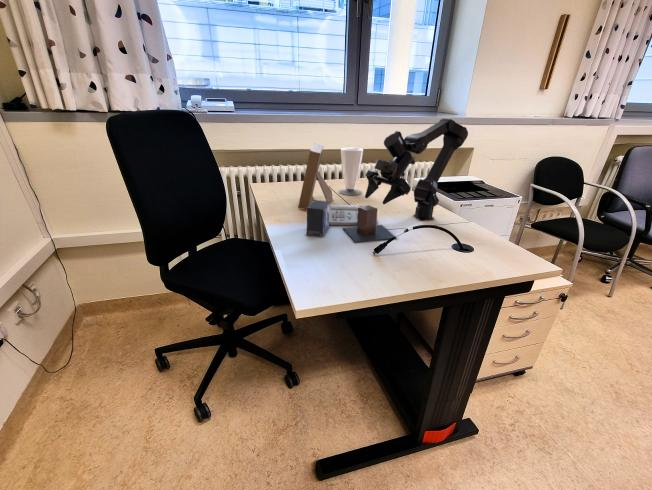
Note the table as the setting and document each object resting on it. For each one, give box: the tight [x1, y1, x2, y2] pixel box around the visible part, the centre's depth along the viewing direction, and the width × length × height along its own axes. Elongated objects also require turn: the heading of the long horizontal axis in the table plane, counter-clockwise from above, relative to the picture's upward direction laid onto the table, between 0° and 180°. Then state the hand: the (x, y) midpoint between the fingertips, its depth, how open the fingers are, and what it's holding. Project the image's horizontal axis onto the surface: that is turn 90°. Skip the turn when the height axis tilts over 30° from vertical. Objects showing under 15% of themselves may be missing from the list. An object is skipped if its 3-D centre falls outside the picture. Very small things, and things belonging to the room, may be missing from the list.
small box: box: [306, 199, 330, 237], centre depth 125 cm, size 11×6×10 cm, turn 168°
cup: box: [339, 146, 364, 196], centre depth 173 cm, size 12×12×22 cm
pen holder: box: [356, 204, 378, 236], centre depth 125 cm, size 5×5×10 cm
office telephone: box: [329, 204, 378, 226], centre depth 144 cm, size 23×3×20 cm
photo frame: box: [297, 143, 334, 211], centre depth 154 cm, size 15×22×25 cm
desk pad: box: [342, 224, 397, 244], centre depth 127 cm, size 16×14×1 cm
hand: (374, 200), depth 123 cm, fingers open, 9 cm apart
